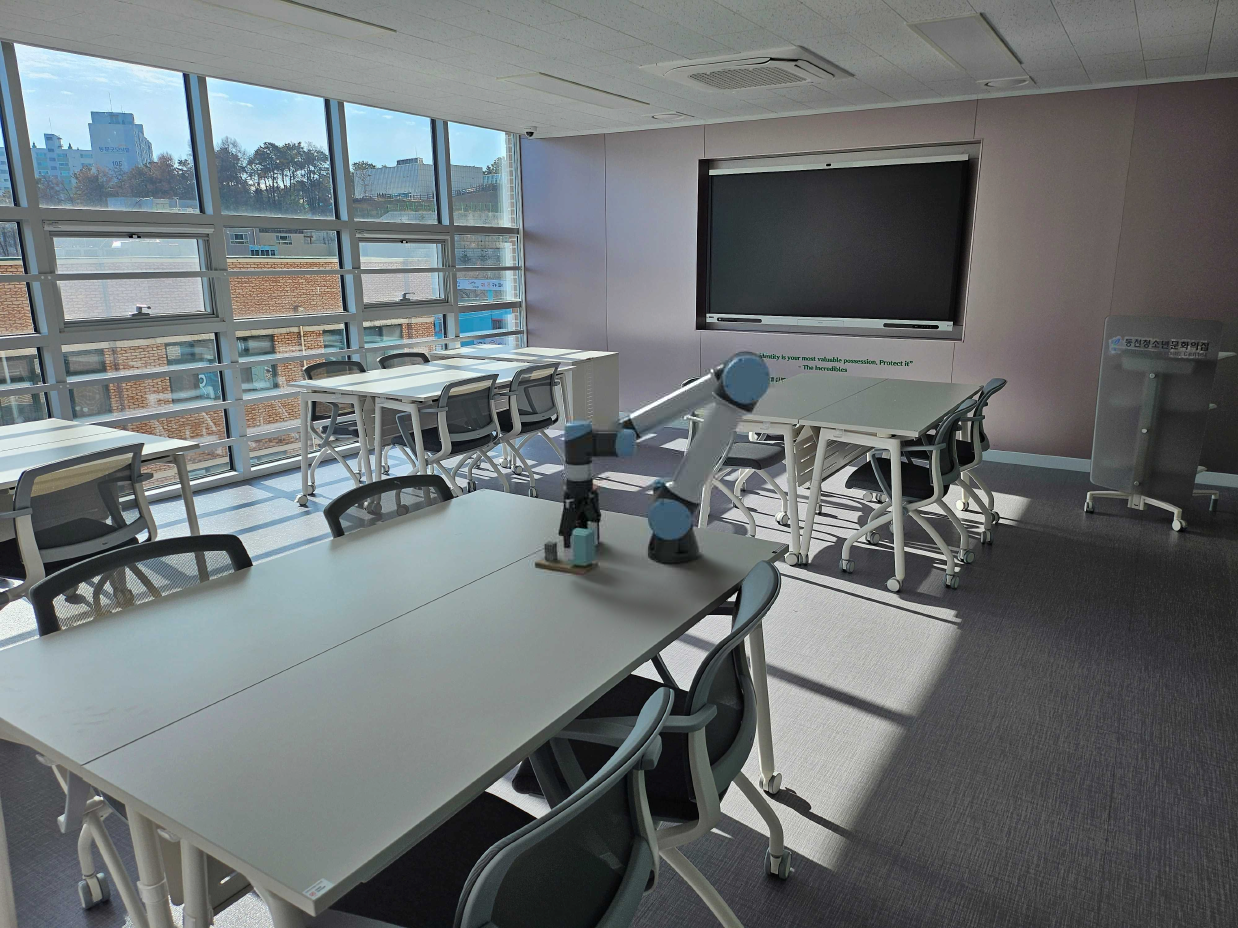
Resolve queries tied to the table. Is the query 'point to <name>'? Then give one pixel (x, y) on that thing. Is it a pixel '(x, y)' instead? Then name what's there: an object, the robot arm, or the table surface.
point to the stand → (561, 561)
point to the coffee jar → (582, 518)
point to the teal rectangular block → (583, 546)
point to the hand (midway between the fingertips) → (581, 551)
